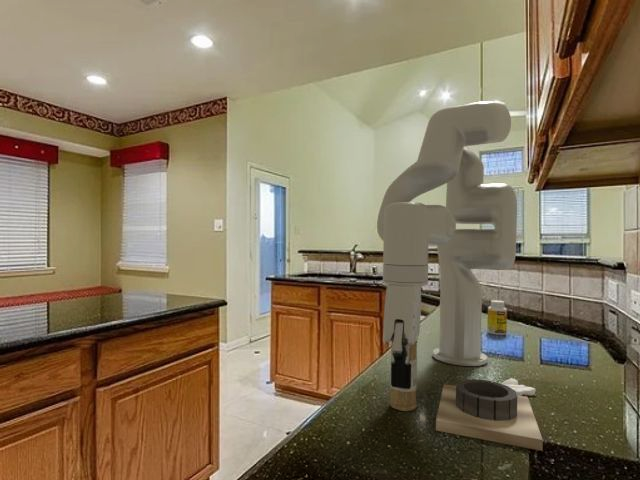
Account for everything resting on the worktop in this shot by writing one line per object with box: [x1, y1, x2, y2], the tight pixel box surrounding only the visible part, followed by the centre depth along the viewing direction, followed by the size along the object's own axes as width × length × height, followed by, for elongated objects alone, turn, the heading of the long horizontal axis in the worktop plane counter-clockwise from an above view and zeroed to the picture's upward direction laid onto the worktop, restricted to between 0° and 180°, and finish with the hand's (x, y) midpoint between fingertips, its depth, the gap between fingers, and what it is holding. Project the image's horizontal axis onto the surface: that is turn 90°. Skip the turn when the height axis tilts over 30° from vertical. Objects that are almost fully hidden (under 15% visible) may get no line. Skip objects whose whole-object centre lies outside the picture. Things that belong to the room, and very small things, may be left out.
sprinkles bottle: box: [389, 332, 419, 412], centre depth 66 cm, size 5×5×14 cm
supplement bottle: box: [486, 299, 508, 336], centre depth 122 cm, size 6×6×10 cm
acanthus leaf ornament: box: [500, 377, 536, 396], centre depth 75 cm, size 8×7×2 cm
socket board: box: [435, 378, 544, 452], centre depth 63 cm, size 16×14×4 cm
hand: (403, 380), depth 66 cm, fingers closed on sprinkles bottle, 4 cm apart
